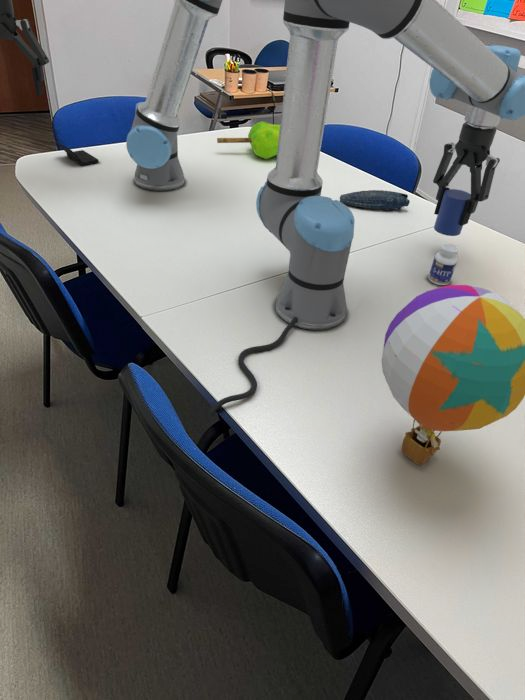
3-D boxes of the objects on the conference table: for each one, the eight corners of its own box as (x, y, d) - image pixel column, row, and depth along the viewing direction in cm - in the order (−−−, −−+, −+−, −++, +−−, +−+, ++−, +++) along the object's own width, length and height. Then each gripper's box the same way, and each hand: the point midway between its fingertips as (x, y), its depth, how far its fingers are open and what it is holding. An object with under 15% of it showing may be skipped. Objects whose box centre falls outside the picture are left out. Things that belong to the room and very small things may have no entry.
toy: (330, 445, 83) (367, 285, 64) (404, 395, 93) (455, 244, 75) (432, 532, 72) (514, 369, 53) (503, 464, 82) (592, 308, 64)
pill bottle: (426, 282, 126) (437, 249, 120) (429, 272, 130) (439, 240, 124) (449, 287, 124) (460, 254, 119) (450, 277, 128) (461, 245, 123)
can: (428, 225, 136) (438, 190, 130) (449, 223, 138) (460, 188, 132) (444, 237, 131) (456, 201, 125) (466, 234, 134) (478, 198, 128)
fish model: (408, 214, 157) (412, 198, 153) (339, 207, 158) (341, 191, 154) (406, 206, 162) (410, 190, 159) (339, 199, 163) (341, 183, 160)
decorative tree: (214, 118, 187) (294, 118, 193) (214, 147, 194) (292, 146, 199) (220, 132, 174) (307, 132, 179) (220, 164, 180) (304, 162, 185)
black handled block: (103, 155, 172) (82, 133, 163) (91, 173, 171) (70, 152, 162) (82, 151, 178) (61, 130, 170) (71, 168, 177) (49, 148, 168)
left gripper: (-71, -12, 117) (-43, 91, 130) (40, -1, 117) (57, 100, 131) (-54, -14, 123) (-29, 84, 136) (52, -4, 123) (66, 93, 137)
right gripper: (528, 134, 115) (492, 229, 129) (452, 111, 126) (427, 201, 141) (511, 139, 111) (476, 237, 125) (434, 115, 122) (410, 207, 136)
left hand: (13, 92), depth 133 cm, fingers open, 13 cm apart
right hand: (450, 218), depth 133 cm, fingers closed on can, 7 cm apart
